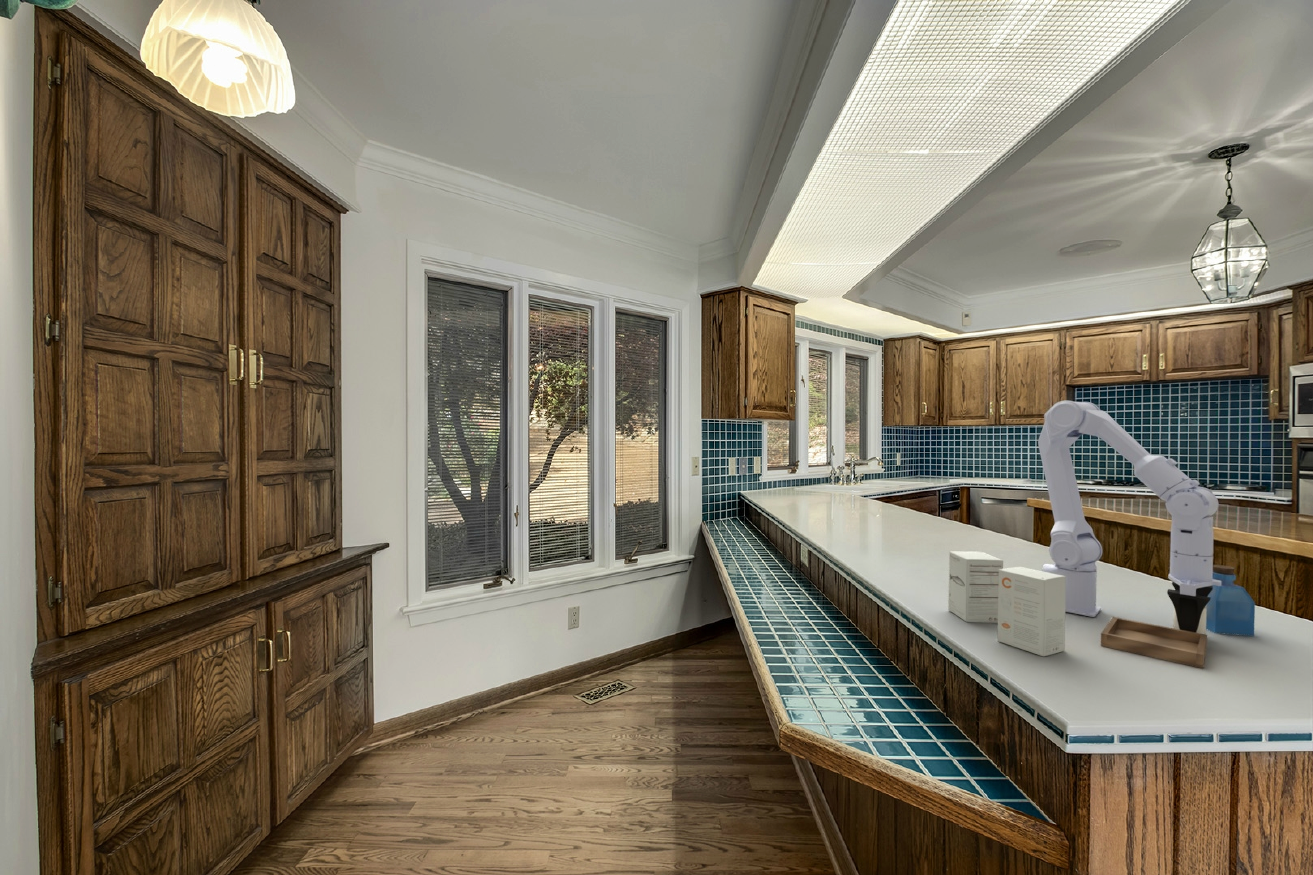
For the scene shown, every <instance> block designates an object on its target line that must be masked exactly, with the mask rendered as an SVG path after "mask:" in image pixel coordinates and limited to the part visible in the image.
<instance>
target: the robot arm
mask: <svg viewBox="0 0 1313 875" xmlns="http://www.w3.org/2000/svg"><path fill="white" fill-rule="evenodd" d="M1043 417H1044V423H1043V426H1042V430H1041V432H1040V435H1039V438H1038V440H1037V443H1038V450H1039V454H1040V458H1041V463H1042V468H1043V469H1042V470H1043V473H1044V477H1045V481H1046V482H1045V483H1046V488H1047V492H1048V497H1049V501H1050V507H1051V511H1052V515H1053V519H1054V520H1053V521H1054V525H1053V527H1052V529H1051V531H1050V538H1051V540H1050V541H1051V542H1050V545H1049V548H1048V549H1049V550H1048V552H1049V556H1050V559H1051V560H1052V561H1053V562H1054V564H1052V563H1044V564H1043V566H1042V568H1041V571H1043V572H1048V573H1053V574H1057V575H1062V576H1065V579H1066V582H1065V613H1070V614H1077V615H1081V616H1087V617H1091V618H1094V617H1097V615H1098V613H1099V612H1100V611H1101V610H1102V606H1099V605H1098V606H1097V581H1098V579H1097V576H1098V568H1097V565H1096V562H1098V561H1099V560H1100V559H1101V558H1102V555H1103V547H1102V544H1101V543H1100V541H1099V540H1098V539H1097V538H1096V536H1095V534H1094V531H1093V530H1094V529H1093V528H1092V526H1091V525H1090V524H1089V523H1088V522H1087V521H1086V519H1085V518H1086V517H1085V514H1084V510H1083V505H1082V500H1081V495H1080V491H1079V486H1078V483H1077V479H1076V474H1075V473H1076V472H1075V469H1074V464H1073V460H1072V456H1071V450H1070V448H1071V446H1072V445H1073V444H1074V443H1076V441H1077V440H1078V439H1079V438H1080V437H1081V436H1083V435H1088V436H1093V437H1097V438H1099V439H1101V440H1103V442H1105V443H1106V444H1107V445H1108V446H1110V447H1111V448H1112V449H1113V450H1114V451H1116V452H1117V453H1118V454H1119V455H1120V456H1122V457H1123V458H1125V459H1126V460H1127V461H1128V462H1129V463H1131V464H1132V465H1133V475H1134V476H1135V477H1136V478H1137V479H1138V480H1139V481H1140V482H1141V483H1142V484H1144V485H1145V486H1146V487H1147V488H1148V489H1149V490H1150V491H1152V492H1153V494H1155V495H1156V496H1157V497H1158V498H1159V499H1160V500H1162V501H1165V503H1164V504H1165V508H1166V511H1167V512H1168V513H1169V515H1171V527H1170V552H1169V553H1170V555H1169V556H1170V557H1169V573H1168V576H1167V578H1168V579H1169V580H1170V581H1171V585H1172V587H1173V588H1174V589H1172V588H1168V589H1167V590H1166V592H1167V596H1168V598H1169V599H1170V601H1171V603H1172V604H1173V609H1174V608H1175V611H1176V616H1177V621H1178V625H1179V629H1180V630H1185V631H1190V632H1195V633H1196V632H1197V629H1198V626H1199V622H1200V618H1201V614H1202V612H1203V609H1204V608H1205V606H1206V605H1207V603H1208V602H1209V601H1210V599H1211V597H1208V595H1209V594H1210V592H1211V591H1212V590H1213V586H1211V585H1217V586H1221V581H1220V580H1215V579H1212V571H1213V565H1214V564H1213V562H1214V516H1213V515H1214V514H1215V513H1216V512H1217V511H1218V509H1219V505H1220V504H1219V500H1218V497H1217V496H1216V495H1215V494H1214V493H1213V491H1212V490H1211V489H1209V488H1206V487H1203V486H1199V485H1201V484H1200V482H1199V481H1198V480H1197V479H1191V478H1190V477H1189V476H1188V475H1186V474H1185V473H1184V472H1183V471H1182V470H1180V469H1179V468H1178V467H1177V466H1176V465H1178V462H1177V461H1176V460H1175V459H1173V458H1167V457H1166V456H1164V455H1158V454H1157V455H1153V454H1151V453H1150V452H1149V451H1147V450H1146V449H1145V448H1144V446H1142V445H1141V444H1140V443H1139V442H1138V441H1137V440H1136V439H1135V438H1134V437H1133V436H1131V435H1130V433H1128V432H1127V431H1126V430H1125V429H1124V428H1123V427H1122V426H1121V425H1120V424H1119V423H1118V422H1117V421H1116V420H1114V418H1113V417H1111V416H1110V414H1109V413H1107V412H1106V411H1104V410H1101V408H1099V406H1098V405H1097V404H1095V403H1092V402H1089V401H1073V400H1061V401H1057V402H1056V403H1054V405H1052V406H1051V407H1050V408H1049V409H1048V410H1047V411H1046V412H1045V413H1044V414H1043Z"/></svg>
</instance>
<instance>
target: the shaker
mask: <svg viewBox="0 0 1313 875" xmlns="http://www.w3.org/2000/svg"><path fill="white" fill-rule="evenodd" d="M1206 612H1207V605H1206V606H1205V608H1204V609H1203V612H1202V614H1201V618H1200V622H1199V626H1198V629H1197V632H1196V633H1200V634H1205V635H1207V629H1206ZM1172 626H1173V627H1172V628H1174V629H1179V625H1178V621H1177V616H1176V611H1175V608H1174V607H1173V624H1172ZM1179 630H1180V629H1179Z"/></svg>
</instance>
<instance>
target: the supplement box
mask: <svg viewBox="0 0 1313 875" xmlns="http://www.w3.org/2000/svg"><path fill="white" fill-rule="evenodd" d="M948 562H949V563H948V564H949V566H948V568H949V569H948V600H947V601H948V606H947V608H948V611H949V612H951V613H953V614H954V615H956V616H957V617H959V618H960V619H961V620H963V621H964V622H967V623H989V624H990V623H992V624H993V623H994V624H998V584H999V569H1004V560H1003V559H1002V558H1001V559H1000V558H999V557H996V556H994V555H991V554H988V553H986V552H984V551H971V550H970V551H969V550H967V551H961V550H960V551H958V550H957V551H954V550H951V551H949V561H948Z"/></svg>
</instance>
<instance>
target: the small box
mask: <svg viewBox="0 0 1313 875" xmlns="http://www.w3.org/2000/svg"><path fill="white" fill-rule="evenodd" d="M1065 582H1066V579H1065V576H1062V575H1057V574H1053V573H1048V572H1043V571H1042V570H1037V569H1033V568H1028V567H1023V566H1014V567H1007V568H1005V567H1004V568H1003V569H999V584H998V623H997V642H999V643H1003V644H1005V645H1008V646H1011V647H1015V648H1016V649H1021V650H1023V651H1027V652H1029V653H1032V654H1034V655H1035V654H1036V655H1038V656H1041V657H1047V656H1051V655H1054V654H1055V655H1056V654H1057V653H1061V652H1064V651H1065V650H1066V612H1065Z"/></svg>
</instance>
